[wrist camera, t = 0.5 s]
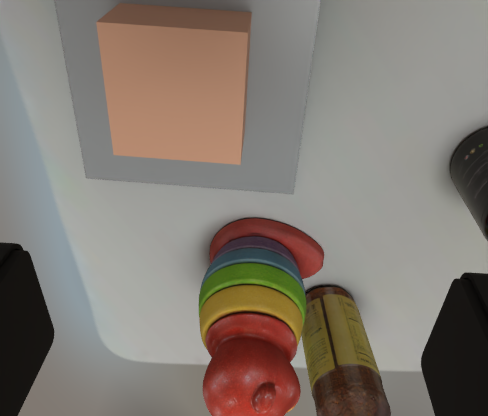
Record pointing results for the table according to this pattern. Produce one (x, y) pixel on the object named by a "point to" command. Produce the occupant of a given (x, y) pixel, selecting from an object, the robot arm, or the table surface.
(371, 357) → the sauce bottle
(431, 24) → the table surface
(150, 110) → the terracotta block
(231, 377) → the stacking bear
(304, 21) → the baseplate
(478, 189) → the supplement bottle
